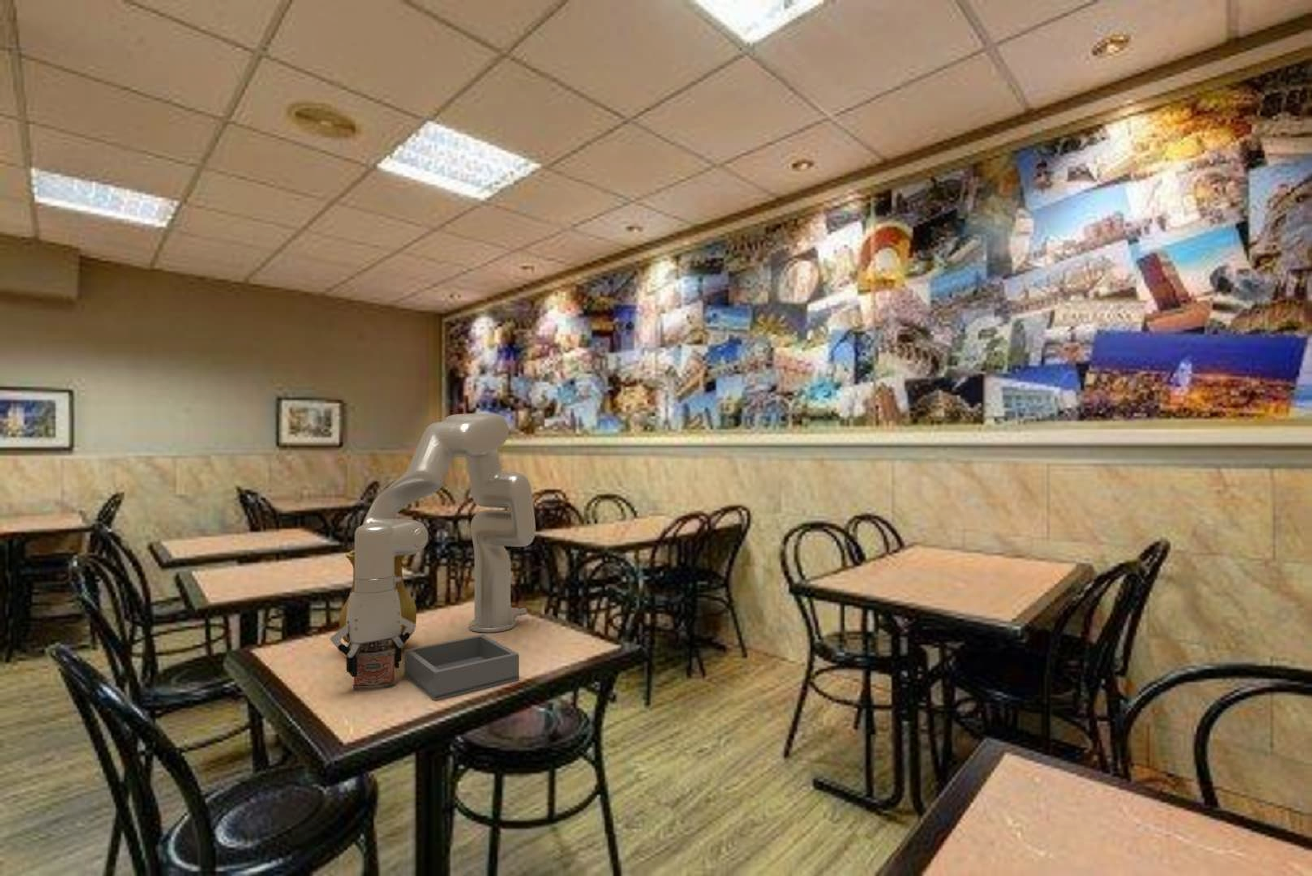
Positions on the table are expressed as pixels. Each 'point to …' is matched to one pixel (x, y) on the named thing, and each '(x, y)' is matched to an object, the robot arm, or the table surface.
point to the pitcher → (405, 599)
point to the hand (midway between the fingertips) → (374, 670)
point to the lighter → (374, 666)
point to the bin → (460, 666)
